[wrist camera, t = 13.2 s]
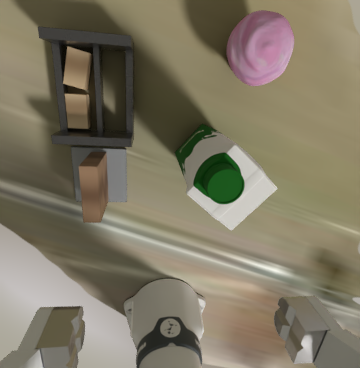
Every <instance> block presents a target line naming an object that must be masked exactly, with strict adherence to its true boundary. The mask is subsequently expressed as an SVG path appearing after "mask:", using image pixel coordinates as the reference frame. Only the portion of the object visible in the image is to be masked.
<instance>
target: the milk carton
mask: <svg viewBox="0 0 360 368" xmlns="http://www.w3.org/2000/svg"><path fill="white" fill-rule="evenodd" d="M175 154H176V157H177V160H178V162H179V165H180V168H181V170H182V173H183V176H184V178H185V181H186V184H187V189H186V193H187V195H188V196H190V197H191V198H192V199H193V200H194V201H195V202H196V203H198V204H199V205H200V206H201V207H202V208H203V209H204V210H206V211H207V212H208V213H209V214H210V215H211V216H212V217H214V218H215V219H216V220H219V221H220V222H221V223H222V224H223V225H225V226H226V227H227V228H228V229H229V230H233V229H234V228H235V227H236V226H237V225H238V224H239V223H240V222H241V221H242V220H244V219H245V218H246V217H247V216H248V215H249V214H250V213H251V212H252V211H253V210H255V209H256V208H257V207H258V206H259V205H260V204H261V203H262V202H263V201H264V200H266V199H267V198H268V197H269V196H270V195H271V194H272V193H273V192H274V191H275V190H277V189H278V188H277V187H276V186H275V184H274V183H273V182H272V181H271V180H270V179H269V178H268V176H267V175H266V174H265V172H264V170H263V169H262V167H261V166H260V165H259V164H258V163H257V161H256V160H255V159H254V158H253V157H251V156H250V155H249V154H248V153H247V152H246V151H245V150H244V149H242V148H241V147H240V146H239V145H238V144H236V143H235V142H234V141H232V140H231V139H229V138H228V137H226V136H225V135H223V134H222V133H220V132H218V131H217V130H215V129H213V128H210V127H208V126H206V125H204V124H201V125H200V127H199V128H198V129H197V130H196V131H195V132H194V133H193V134H192V135H191V136H190V137H189V138H188V139H187V140H186V141H185V142H184V143H183V145H182V146H181V147H180V148H179V149H178V150H177V151H176V152H175Z"/></svg>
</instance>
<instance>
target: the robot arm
mask: <svg viewBox="0 0 360 368" xmlns="http://www.w3.org/2000/svg"><path fill="white" fill-rule="evenodd" d="M205 304H206V302H205V298H204V297H202V296H200V295H198V294H196V293H195V292H194V290H193V289H192V288H191V287H190V286H189V285H188V284H186V283H185V282H183V281H180V280H176V279H160V280H156V281H153V282H151V283H149V284H147V285H145V286H144V287H143V288H141V289H140V290H139V292H138V293H137V294H136V295H135V296H133V297H132V298H130V299H128V300H126V301H125V302H124V310H125V314H126V317H127V320H128V323H129V327H130V330H131V337H132V338H133V342H134V344H135V347H136V349H137V355H136V365H137V368H201V365H202V352H201V347H200V338H201V337H202V333H203V332H204V327H203V321H202V315H201V314H202V312H203V309H204V307H205ZM278 305H279V307H280V308H279V309H278V310H277V311H276V312H275V316H274V323H275V327H276V330H277V332H278V334H279V336H280V337H281V338H282V339H283V340H285V341H286V342H285V348H286V350H287V352H288V354H289V356H290V358H291V359H292V361H293V363H294V364H297V363H314V365H315V366H316V367H317V368H360V338H359V337H357V336H356V335H354V334H352V333H351V332H349V331H348V330H343V329H342V328H341V327H340V325H339V324H338V323H337V322H336V320H335V319H334V318H333V317H332V315H331V314H330V313H329V312H328V310H327V309H326V308H325V307H324V305H323V304H322V303H321V301H320V300H319V299H318V298H317V297H315V296H303V297H302V296H298V297H281V298H280V299H279V301H278ZM82 316H83V307H80V306H77V307H41V308H40V309H39V310H38V311H37V312H36V314H35V316H34V318H33V320H32V322H31V324H30V326H29V328H28V330H27V332H26V334H25V336H24V338H23V340H22V342H21V344H20V346H19V348H18V350H17V351H12V352H11V353H10V354H8V355H7V356H6V357H5V358H4V359H3V360H2V361H0V368H77V365H78V356H77V353H78V352H79V351H80V350H81V349H82V345H83V340H84V334H85V322H84V321H83V320H82Z"/></svg>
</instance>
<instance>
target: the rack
mask: <svg viewBox="0 0 360 368" xmlns="http://www.w3.org/2000/svg"><path fill="white" fill-rule="evenodd" d="M38 31H39V38H41V39H43V40H45V41H48V42H50V43H51V44H52V54H53V63H54V72H55V81H56V90H57V99H58V108H59V117H60V126H61V131H59V132H57V133H55V134H53V135H51V136H52V144H71V145H95V146H120V147H132V143H133V140H134V43H133V40H132V37H131V36H127V35H117V34H107V33H97V32H87V31H77V30H67V29H57V28H47V27H38ZM64 46H71V47H82V48H93V57H94V75H95V94H96V112H97V130H88V129H71V128H68V122H67V112H66V102H65V94H67V93H68V87H67V85H66V84H63V80H64V72H65V55H64ZM101 49H104V50H115V51H125V52H126V131H108V130H105V127H104V104H103V81H102V59H101Z"/></svg>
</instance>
